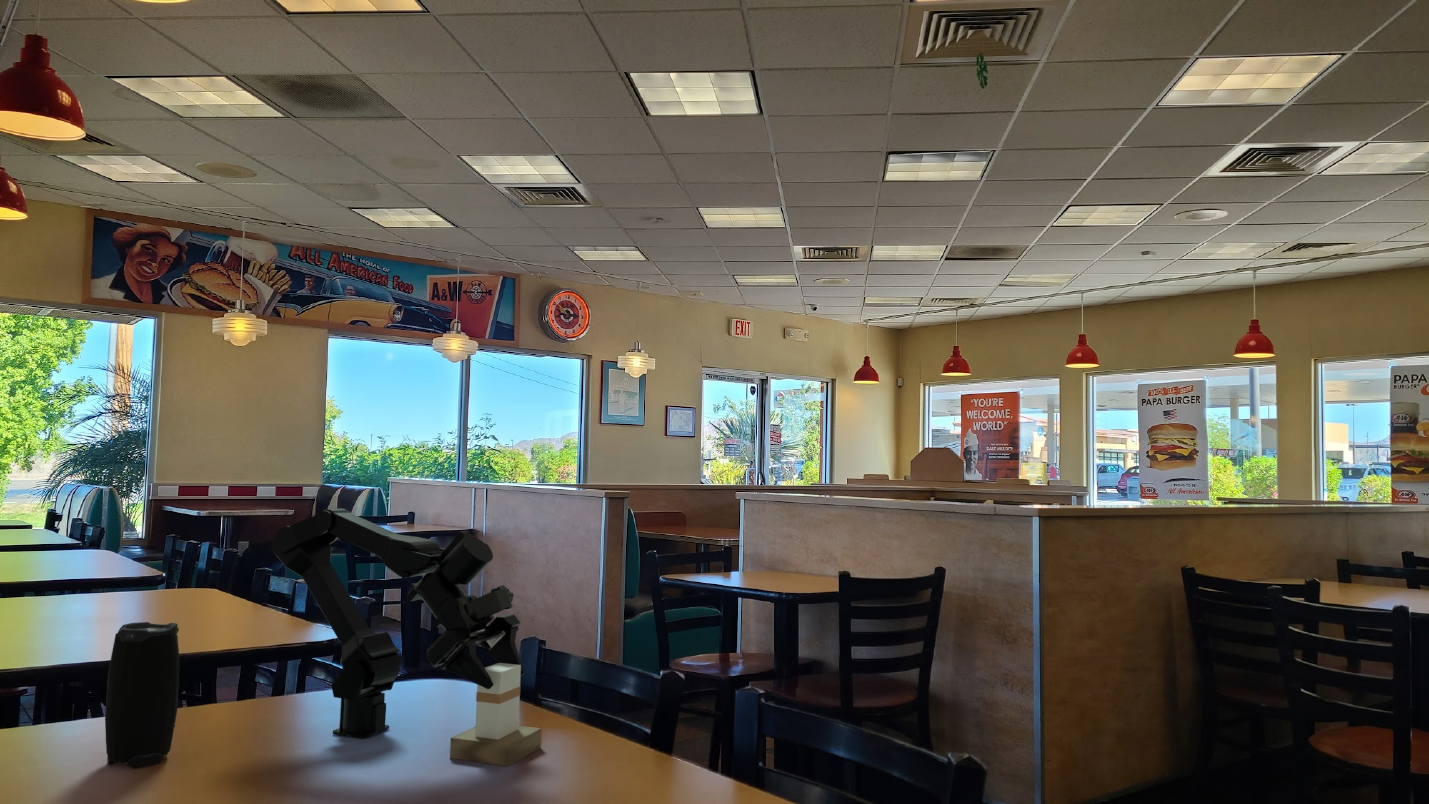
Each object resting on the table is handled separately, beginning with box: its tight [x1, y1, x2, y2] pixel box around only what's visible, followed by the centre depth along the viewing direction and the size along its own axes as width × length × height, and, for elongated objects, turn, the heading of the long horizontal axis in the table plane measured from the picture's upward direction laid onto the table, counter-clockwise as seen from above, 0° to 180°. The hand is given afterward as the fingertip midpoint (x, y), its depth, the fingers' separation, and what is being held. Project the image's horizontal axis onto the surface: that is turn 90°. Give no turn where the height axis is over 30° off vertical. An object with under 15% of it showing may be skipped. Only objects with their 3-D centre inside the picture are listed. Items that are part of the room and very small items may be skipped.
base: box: [449, 725, 542, 767], centre depth 146 cm, size 10×10×3 cm
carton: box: [474, 662, 521, 740], centre depth 147 cm, size 4×6×10 cm
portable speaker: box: [104, 621, 181, 770], centre depth 138 cm, size 9×9×20 cm
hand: (507, 681), depth 146 cm, fingers open, 9 cm apart
